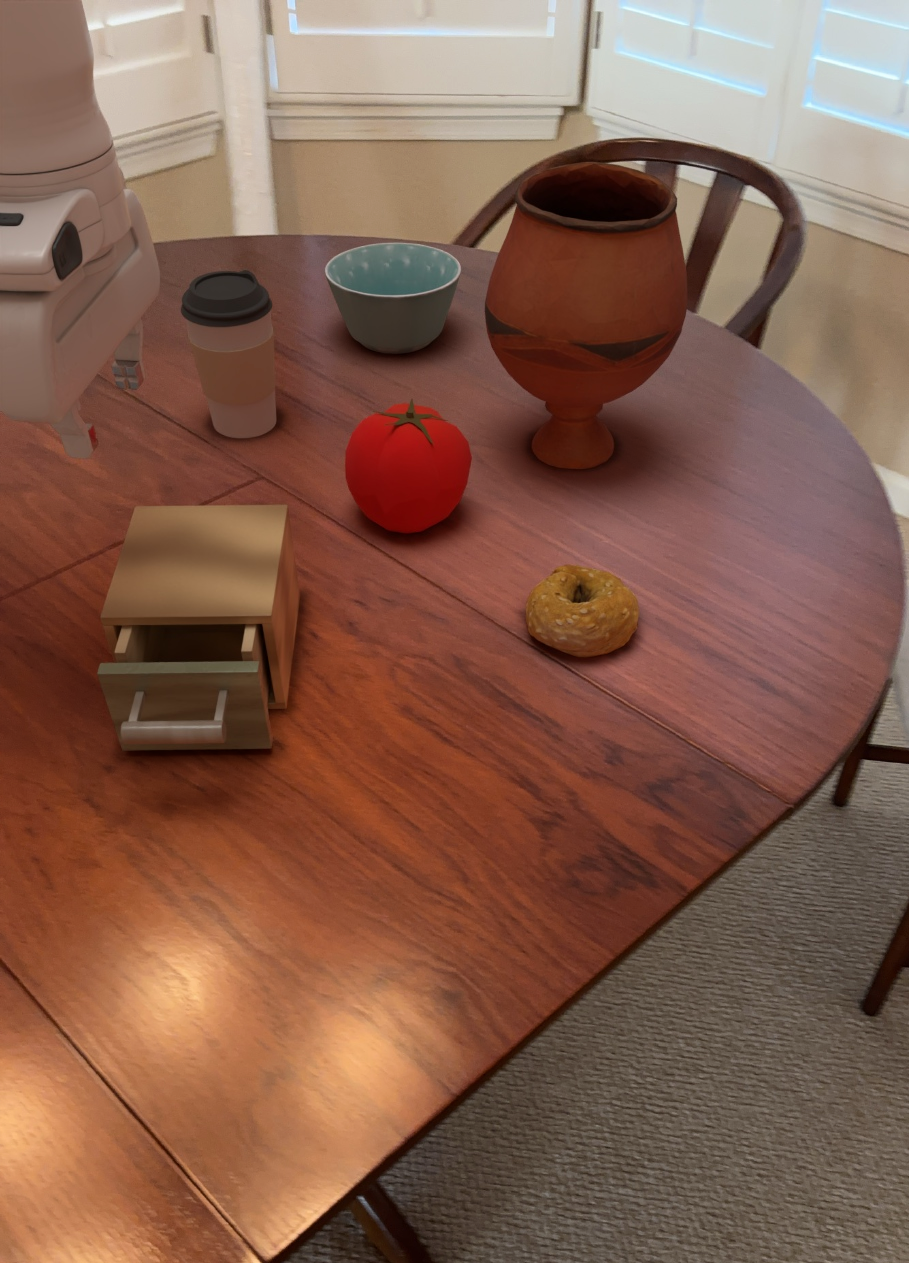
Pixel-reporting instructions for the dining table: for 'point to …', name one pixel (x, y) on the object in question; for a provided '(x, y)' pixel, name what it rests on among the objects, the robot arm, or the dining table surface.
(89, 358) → the robot arm
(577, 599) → the bagel
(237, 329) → the coffee cup
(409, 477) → the tomato
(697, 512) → the dining table surface
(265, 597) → the cabinet
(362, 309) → the bowl
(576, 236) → the goblet
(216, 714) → the tray drawer
